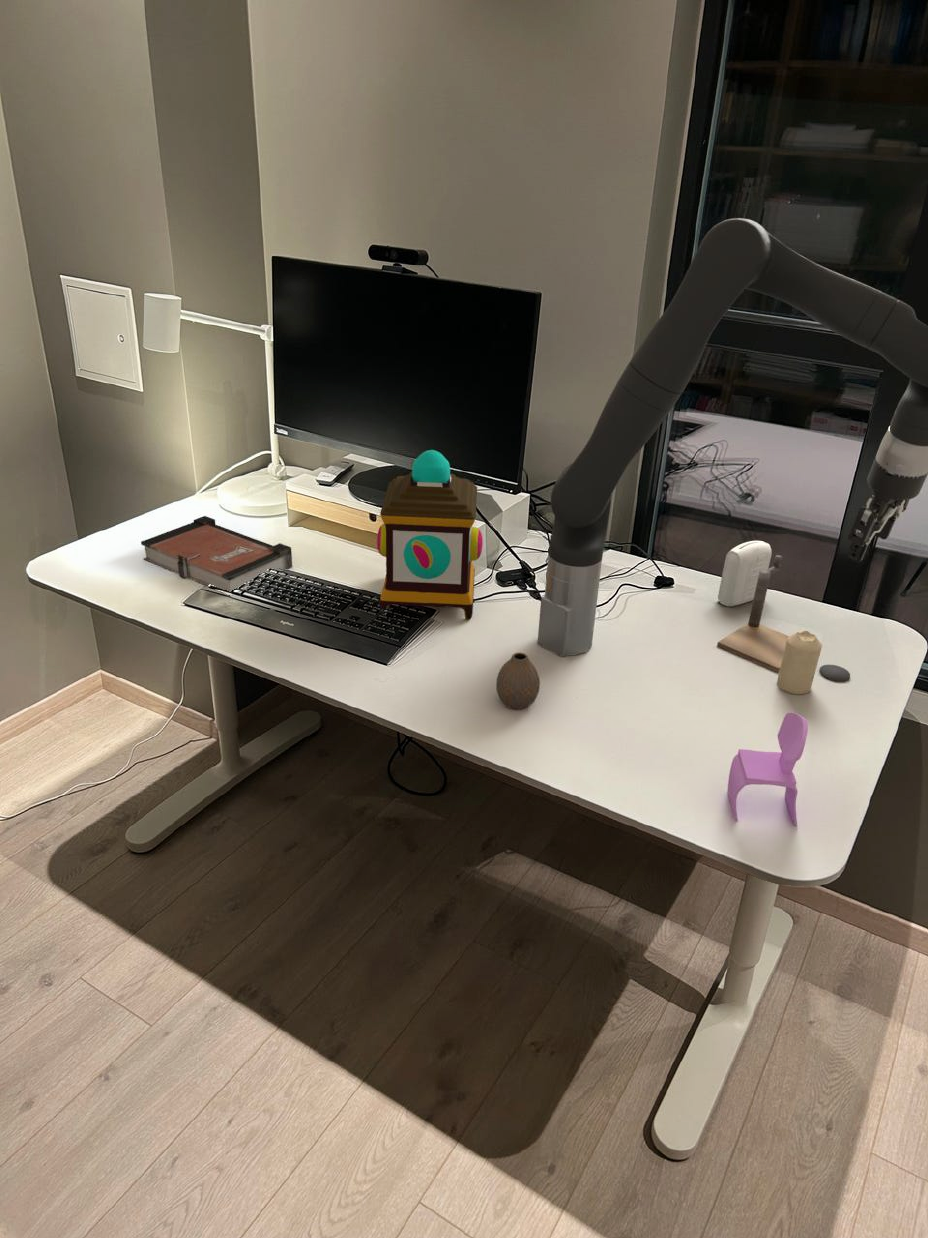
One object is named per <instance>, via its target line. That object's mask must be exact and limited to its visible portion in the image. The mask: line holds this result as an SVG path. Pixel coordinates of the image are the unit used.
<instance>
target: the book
mask: <svg viewBox="0 0 928 1238" xmlns="http://www.w3.org/2000/svg"><path fill="white" fill-rule="evenodd" d="M140 543H141V546H144V552H145V557H144V558H143V560H144V561H145V562H148V563H151V564H153V565H155V566H158V567H160V568H162V569H164V570H167V571H170V572H172V573H175V574H176V575H178V576H179V577H181V578H182V579H188V580H191V581H194V582H196V583H197V584H200V585H203V586H206V587H207V586H208V585H209V584H211V585H214V586H216V587H218V588H221V589H223V590H227V591H229V592H231V591H232V590H234V589H236V588H238V587H239V586H241V585H242V584H244V583H246V582H247V581H249V580H251V579H253V578H254V577H256V576H257V575H259V574H261V573H263V572H265V571H266V570H267V569H270V568H281V569H288V570H290V569H292V568H293V557H292V555H293V554H292V547H291V546H288V545H285V544H283V543H276V544H275V545H272V544H269V543H267V542H264V541H261V540H259V539H257V538H256V539H255V538H253V537H251V536H248V535H245V534H242V533H240V532H237V531H234V530H231V529H228V528H226V527H223V526H220V525H218V524H216V519H214V518H212V517H209V516H206V515H204V516H200V517H198V518H196V519H193V522H190V523H188V524H185V525H182V526H179V527H177V528H174V529H172V530H168V531H166V532H163V533H161V534H157V535H155V536H153V537H150V538H146V539H145V540H144V539H143V540H142V541H140Z"/></svg>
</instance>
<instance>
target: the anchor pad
mask: <svg viewBox="0 0 928 1238" xmlns="http://www.w3.org/2000/svg"><path fill="white" fill-rule="evenodd" d="M818 671H819V674H820V676H822V678H824V679H826V680H829V681H831V682H837V683H844V682H847V681H849V680H850V677H851V673H850V672H849V671H848V670H847V669H846V668H844V667H842V666H840V665H835V664H824V665H821V666H820V667H819V670H818Z"/></svg>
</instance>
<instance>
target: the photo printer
mask: <svg viewBox="0 0 928 1238" xmlns="http://www.w3.org/2000/svg"><path fill="white" fill-rule="evenodd" d="M771 558H772V548H771V545H770V544H769V543H768V542H765V541H762V540H751V541H746V542H743V543H741V544H738V545H737V546H735V547H733V548H732V549H731V550H729V551H728V552H727V553H726V556H725V561H724V564H723V569H722V574H721V579H720V584H719V591H718V595H717V600H718V602H719V603H720V604H722V605H723V606H726V607H734V606H739V605H743V604H746V603H748V602H751V601H752V602H753V599H754V594H755V590H756V585H757V580H758V576H759V571H760V570H768V569H769V568H770V567H769V566H770V562H771Z"/></svg>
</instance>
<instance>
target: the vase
mask: <svg viewBox="0 0 928 1238" xmlns="http://www.w3.org/2000/svg"><path fill="white" fill-rule="evenodd" d="M540 685H541V681H540V675H539V672H538V670H537V668H536V667H535V666H534V664H533V663H532V662H531V660H530V659H529V657H528V654H526V653H524V652H514V653H513V654H512V656H511V657H510V659H508V660H507V661H506V662H505V663H504V664H503V665H502V666H501V668H500V669H499V672H498V674H497V677H496V684H495V686H496V693H497V697H498V698H499V700H500V702H502V704H503V705H505V706H506V707H507V708H509V709H511V710H523V709H526V708H529V706H531V705H532V704H533V703H534V702H535V701H536V699H537V698H538V695H539V693H540V687H541V686H540Z"/></svg>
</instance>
